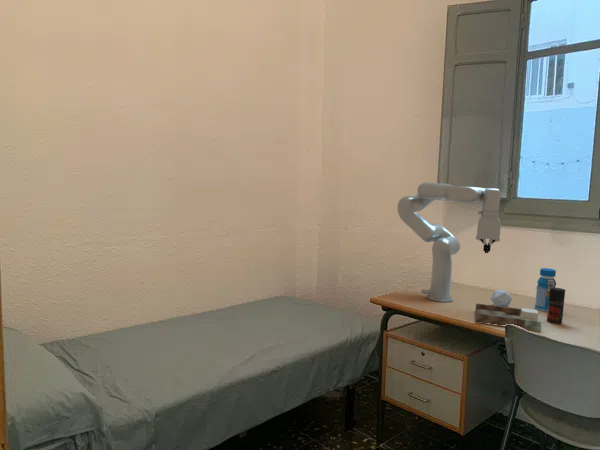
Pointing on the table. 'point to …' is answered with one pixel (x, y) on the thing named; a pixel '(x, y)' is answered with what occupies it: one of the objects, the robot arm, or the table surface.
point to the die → (501, 298)
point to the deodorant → (556, 305)
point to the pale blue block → (529, 314)
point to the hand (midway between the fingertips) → (486, 252)
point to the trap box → (504, 316)
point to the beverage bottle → (544, 288)
